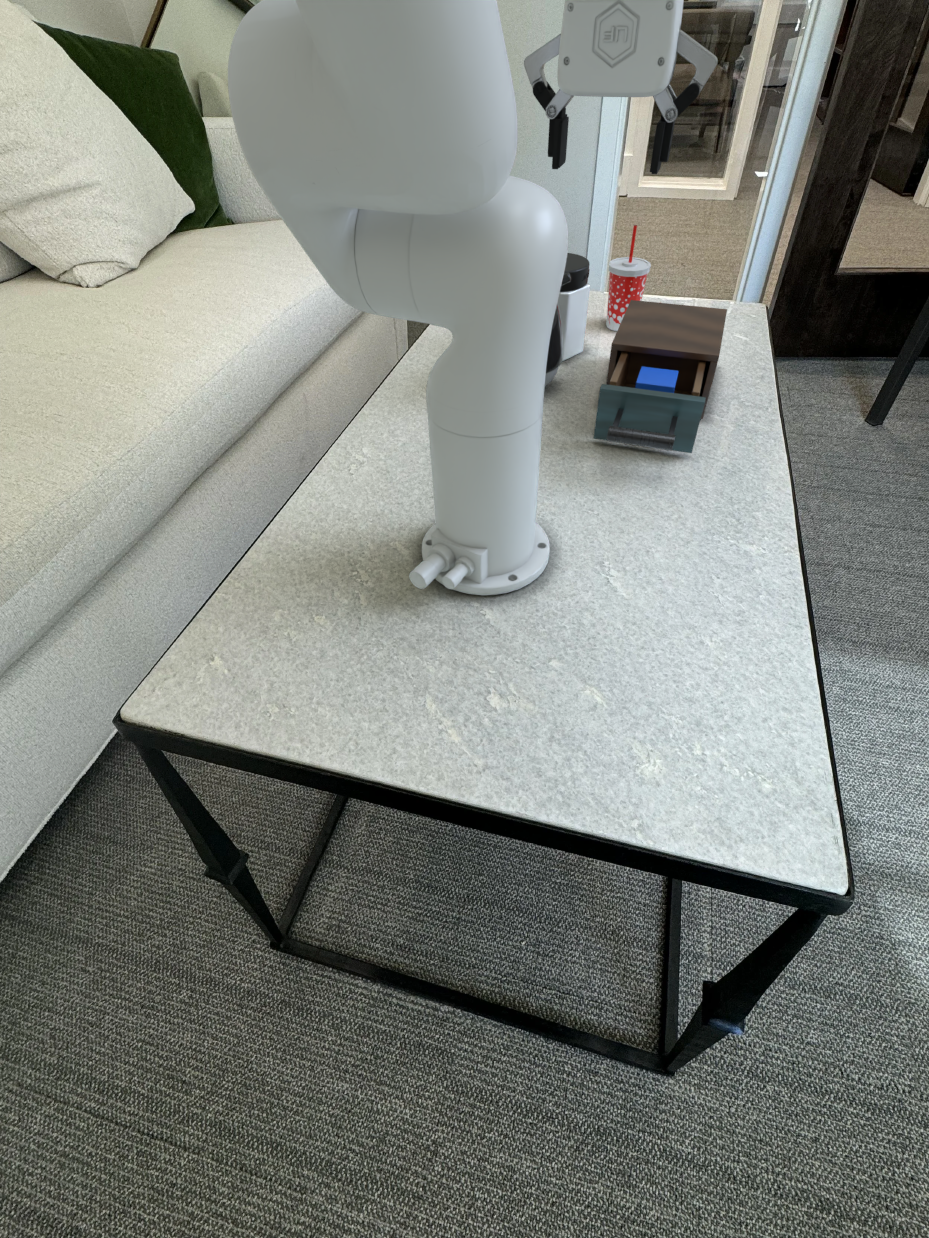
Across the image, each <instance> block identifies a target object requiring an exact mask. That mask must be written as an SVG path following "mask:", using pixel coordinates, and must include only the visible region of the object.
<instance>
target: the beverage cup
mask: <svg viewBox="0 0 929 1238" xmlns="http://www.w3.org/2000/svg"><path fill="white" fill-rule="evenodd" d="M637 228H638V224H633V228H632V236H631V242H630V249H629V256H623V257H616V258H613V259H611V260H610V261H609V262H608V272H609V280H608V297H607V307H606V308H607V309H606V321H605V322H606V323H605V325H606V328H607V329H609V330H611V331H615V332H617V331H618V328H619V326H620V324H621V322H622V319H623V317H624V315H625V312H626V310H627V308H628V306H629V303H630V301H631V300H637V301H643V296H644V291H645V287H646V283H647V278H648V274H649V272H650V271H651V267H652V263H651V262H650V261H648V260H647V259H644V258H642V257H633V256H634V249H635V244H636V237H637V236H636V235H637V230H638V229H637Z"/></svg>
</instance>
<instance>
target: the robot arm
mask: <svg viewBox="0 0 929 1238" xmlns="http://www.w3.org/2000/svg"><path fill="white" fill-rule="evenodd" d="M563 4H564V5H563V12H562V21H561V29H560V30H561V31H560V33H559V34H558V35H556V36H555V37H553V38H551V40H549V41H548V42H546V43H545V44H543V45H541V46H540V47H538V48H537V49H536V50H534V51H533V52H531V53H530V54H528V55H527V56H526V57H525V58H524V60H523V67H524V70H525V72H526V76H527V78H528V81H529V84H530V86H531V88H532V94H533V96H534V97H535V99H536V101H537V102H538V103H539V105H540V106H541V108H542V109H543V111H544V112H545V116H546V117H547V119H549V120H548V121H549V122H548V138H547V139H548V140H547V157H548V158H551V162H552V163H551V170H559V169H560V168H561V167H562V166H563V165H564V164H565V163H566V161H567V160H566V159H567V150H568V149H567V147H568V135H569V122H570V121H569V120H570V119H569V118H570V117H569V116H568V114H567V106H568V105H569V104H570V103H571V101H572V100H573V98H574V97H591V98H593V97H595V98H597V97H599V98H649V97H652V98H653V100H654V102H655V104H656V107H658V109H659V111H660V113H661V114H660V118H659V121H658V122H657V124H656V126H655V134H654V140H653V147H652V153H651V160H650V166H649V173H651V175H658V173H659V172H660V170H661V168H662V163H668V162H669V159H670V153H671V147H672V141H673V136H674V129H675V123H676V119H677V118H678V117H680V116H681V114H683V113H684V111H686V109H688V108H689V106H690V105H692V103H694V102H695V100H696V99H697V98H698V96H699V95H700V94H701V92H702V90H703V89H704V87H705V85H706V83H707V82H708V81H709V78H710V77H711V75H712V74H713V72H714V70H715V69H716V67H717V65H718V61H719V60H718V57H717V56H716V55H715V54H714V53H712V52H711V51H710V50H709V49H707V48H706V47H705V46H703V45H702V44H701V43H699V42H698V41H696V39H694V38H692V36H690V35H689V34H688V33H686V32H685V31H683V30H682V29H681V28H682V20H683V19H682V18H683V10H684V0H564V3H563ZM678 55H679V56H681V57H682V58H683V59H685V60H686V61H687V62H689V63H690V64H691V65H693V66H694V67H695V74H694V75H693V77H692V79H691V80H690V82H689V84H688V85H687V86H686V88H684V89H683V90H682V91H681V92H680V93H679V94H678V96H677V95H676V93H675V91H674V89H673V87H672V85H671V82H672V80H673V77H674V73H675V69H676V64H677V59H678ZM556 57H558V58H557V59H558V60H557V86H558V90H557V92H555V91H554V89H553V87H552V85H550V83H549V82H548V81H547V78H546V74H545V71H544V68H545V66H546V64H547V63H549V62H550V61H552V60H553V59H554V58H556ZM512 77H513V76H512V72H511V65H510V61H509V56H508V52H507V46H506V41H505V35H504V30H503V26H502V21H501V15H500V11H499V6H498V0H261V1H259V2H258V3H256V4H255V5H254V6H253V7H251V8H250V9H249V10H248V11H247V12H246V14H245V15H244V16H243V18H242V19H241V21H240V22H239V24H238V26H237V28H236V30H235V33H234V34H233V38H232V41H231V44H230V49H229V55H228V62H227V90H228V99H229V106H230V112H231V117H232V122H233V125H234V129H235V132H236V136H237V140H238V142H239V147H240V148H241V152H242V153H243V156H244V158H245V159H244V160H245V161H246V163H247V165H248V168H249V170H250V172H251V174H252V175H253V177H254V179H255V181H256V183H257V184H258V186H259V187H260V189H261V190H262V192H263V195H264V196H265V197H266V199H267V200H268V202H269V203H270V204H271V206H272V207H273V209H274V210H275V212H276V213H277V214H278V216H279V218H280V219H281V220H282V222H283V223H284V224H285V226H286V227H287V228H288V230H289V231H290V233H291V234H292V236H293V237H294V238H295V240H296V241H297V243H298V244H299V245H300V247H301V248H302V250H303V251H304V253H305V254H306V255H307V256H308V258H309V260H310V261H311V262H312V264H313V265H314V267H315V268H316V269H317V271H318V272H319V274H320V275H321V277H322V278H323V279H324V281H325V282H326V283H327V285H328V286H329V287H330V289H332V291H333V292H334V293H335V294H336V296H338V297H339V298H340V299H341V301H343V302H344V303H346V304H347V305H348V306H350V307H352V308H354V310H357V311H360V312H363V313H367V314H370V315H375V316H380V317H385V318H390V319H397V320H404V321H410V322H417V323H422V324H428V325H431V326H435V327H440V328H444V329H446V330H448V331H449V332H450V333H451V336H452V339H451V342H450V344H449V345H448V346H447V348H446V349H445V350H444V351H443V352H442V353H441V355H440V356H439V357H438V358H437V359H436V361H435V362H434V364H433V366H432V367H431V370H430V372H429V374H428V377H427V380H426V381H427V382H426V389H425V397H426V398H425V400H426V401H425V402H426V415H427V426H428V427H427V428H428V438H429V439H428V440H429V454H430V467H431V479H432V480H431V481H432V494H433V506H434V507H433V508H434V521H435V522H434V523H433V524H432V525H431V526H430V527H429V529H428V530H427V531H426V532H425V534H424V537H423V539H422V541H421V556H422V561H421V562H419V564H418V565H416V566H415V567H414V568H413V569H412V570H411V571H410V573H408V578H409V580H410V583H411V584H412V585H413V586H414V587H416V588H417V589H420V590H424V589H426V588H427V587H428V586H429V585H430V584H431V583H432V582H433V581H434V580H436V581H437V582H438V583H440V584H441V585H443V586H444V587H445V588H446V589H448V590H453V591H456V592H460V593H463V594H468V595H475V596H496V595H501V594H507V593H511V592H514V591H517V590H520V589H522V588H525V587H526V586H528V585H530V584H532V583H533V582H534V581H535V580H537V579H538V578H539V577H540V576H541V575H542V573H543V572H544V571H545V569H546V567H547V565H548V563H549V559H550V550H551V549H550V547H551V544H550V540H549V536H548V535H547V533H546V531H545V530H544V528H543V527H542V526H541V525H540V524H539V523H538V522H537V507H538V495H539V494H538V493H539V492H538V490H539V476H540V463H541V462H540V460H541V447H542V432H543V417H544V402H545V401H544V399H545V388H546V386H545V376H546V365H547V357H548V349H549V342H550V336H551V330H552V325H553V320H554V315H555V311H556V306H557V302H558V297H559V293H560V288H561V284H562V280H563V275H564V271H565V265H566V259H567V253H569V251H568V250H569V226H568V221H567V217H566V214H565V211H564V209H563V207H562V205H561V204H560V201H558V200H557V198H556V196H554V195H553V194H552V193H551V192H550V191H548V189H546V188H544V187H543V186H541V185H540V184H538V183H535V182H533V181H531V180H529V179H525V178H521V177H518V176H515V175H511V173H512V170H513V167H514V163H515V160H516V157H517V152H518V151H517V150H518V140H519V139H518V138H519V137H518V136H519V135H518V133H519V132H518V129H519V128H518V110H517V109H518V108H517V100H516V94H515V89H514V83H513V78H512Z"/></svg>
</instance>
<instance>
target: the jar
mask: <svg viewBox="0 0 929 1238" xmlns="http://www.w3.org/2000/svg"><path fill="white" fill-rule="evenodd" d="M565 273H569V274H570V275H571V281H570V282H569V283H566V284H564V285H562V286H561V288H560V293H559V297H558V302H557V303H558V307H559V312H560V317H561V324H562V334H563V359H562V362H564V361H567V360H568V359H570V358H572V357H575V356H577V355H579V354H581V353H583V352H584V346H585V337H586V330H587V329H586V328H587V319H588V318H587V317H588V310H589V300H590V292H591V284H590V283H589V278H590V261H589V259H588V258H586V257H585V256H583V255H580V254H577V253H573V252H567V259H566V265H565V271H564V274H565Z"/></svg>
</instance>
